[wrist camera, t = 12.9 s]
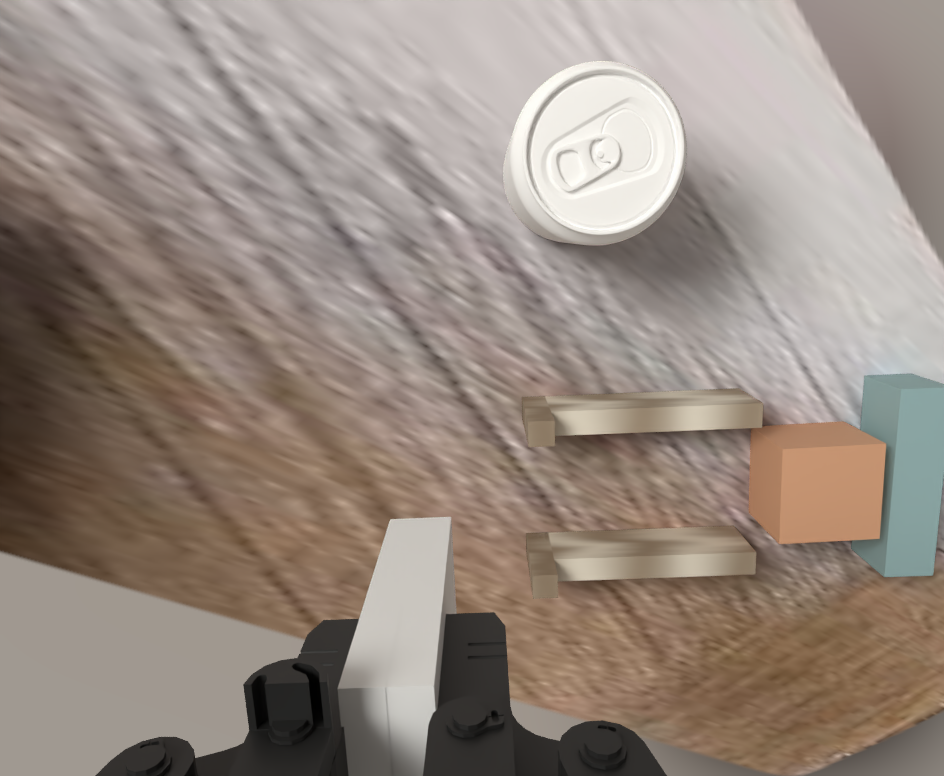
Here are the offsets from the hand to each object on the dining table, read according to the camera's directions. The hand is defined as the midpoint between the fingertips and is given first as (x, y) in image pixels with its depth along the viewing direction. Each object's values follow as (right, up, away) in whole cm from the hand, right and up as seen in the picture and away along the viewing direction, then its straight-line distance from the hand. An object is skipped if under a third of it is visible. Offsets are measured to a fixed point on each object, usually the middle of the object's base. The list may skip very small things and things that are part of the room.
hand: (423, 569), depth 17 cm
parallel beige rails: (+12, -1, +29) cm, 31 cm away
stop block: (+28, -1, +29) cm, 40 cm away
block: (+23, -1, +29) cm, 37 cm away
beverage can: (+7, +17, +25) cm, 32 cm away
